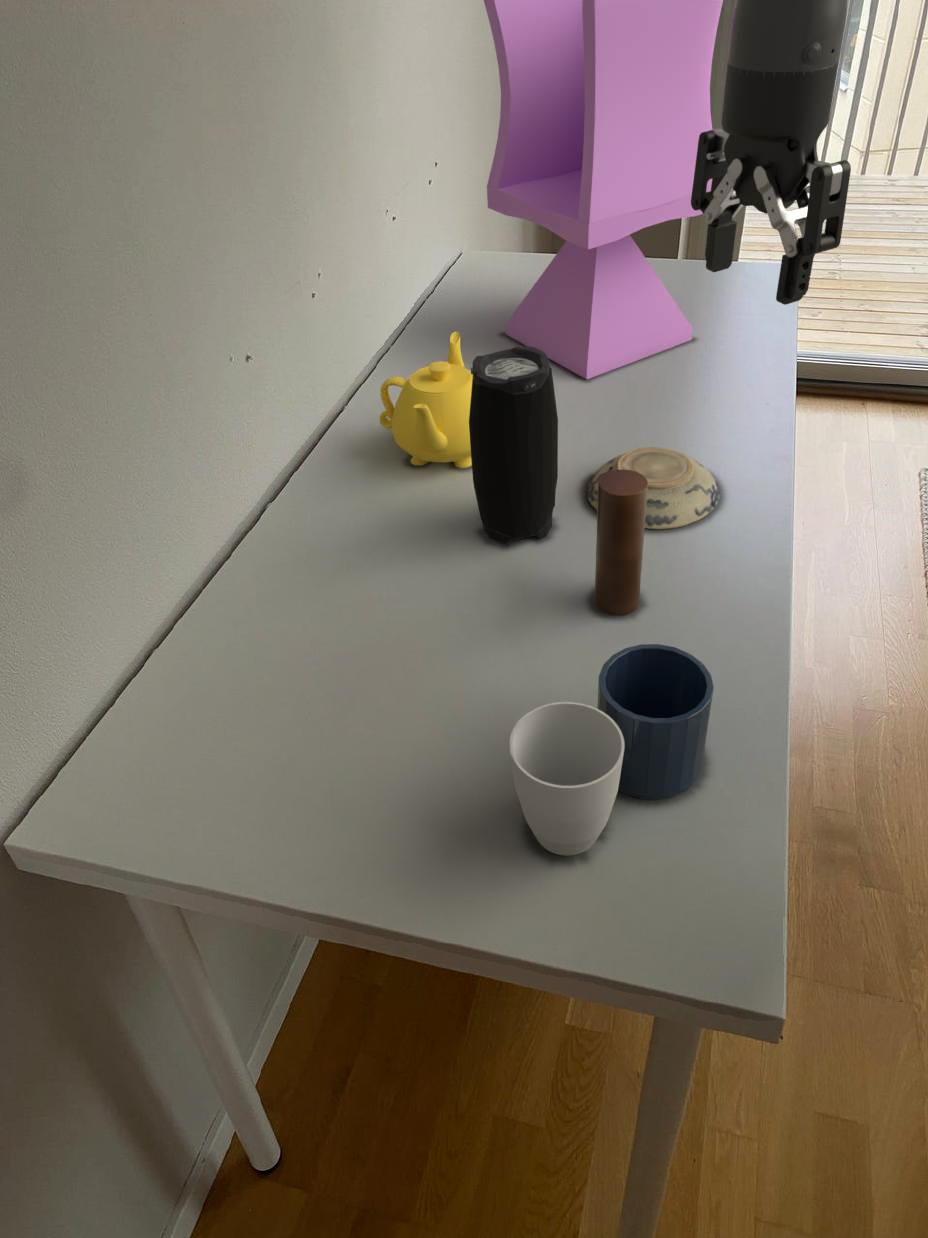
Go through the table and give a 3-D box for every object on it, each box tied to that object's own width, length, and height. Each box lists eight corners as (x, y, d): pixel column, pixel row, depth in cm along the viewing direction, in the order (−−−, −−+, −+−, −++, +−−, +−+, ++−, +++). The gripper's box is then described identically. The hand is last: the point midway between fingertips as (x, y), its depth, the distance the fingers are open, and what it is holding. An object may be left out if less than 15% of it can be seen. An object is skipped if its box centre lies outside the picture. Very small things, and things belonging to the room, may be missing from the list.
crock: (719, 749, 78) (733, 671, 72) (668, 817, 73) (677, 740, 67) (630, 706, 83) (636, 630, 77) (575, 767, 78) (577, 691, 72)
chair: (493, 333, 143) (477, -20, 114) (607, 295, 152) (619, -43, 122) (585, 386, 129) (594, -4, 99) (705, 340, 137) (746, -32, 108)
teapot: (403, 408, 127) (394, 327, 120) (511, 413, 124) (508, 330, 117) (360, 489, 112) (346, 402, 105) (481, 497, 109) (475, 408, 102)
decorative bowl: (718, 461, 112) (592, 454, 115) (722, 434, 110) (593, 428, 112) (720, 535, 101) (580, 526, 104) (724, 507, 99) (581, 498, 101)
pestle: (647, 597, 94) (657, 478, 85) (624, 621, 91) (631, 500, 82) (609, 582, 96) (615, 464, 87) (585, 605, 93) (588, 485, 84)
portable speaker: (461, 534, 104) (447, 369, 91) (511, 495, 109) (504, 334, 97) (524, 559, 100) (518, 390, 87) (573, 517, 105) (574, 352, 92)
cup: (639, 823, 73) (647, 737, 67) (575, 892, 69) (576, 807, 62) (557, 772, 77) (557, 686, 71) (492, 833, 73) (486, 748, 67)
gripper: (902, 61, 62) (852, 301, 72) (756, 34, 72) (731, 249, 82) (815, 79, 59) (776, 325, 70) (676, 49, 69) (661, 269, 80)
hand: (752, 284), depth 76 cm, fingers open, 8 cm apart
